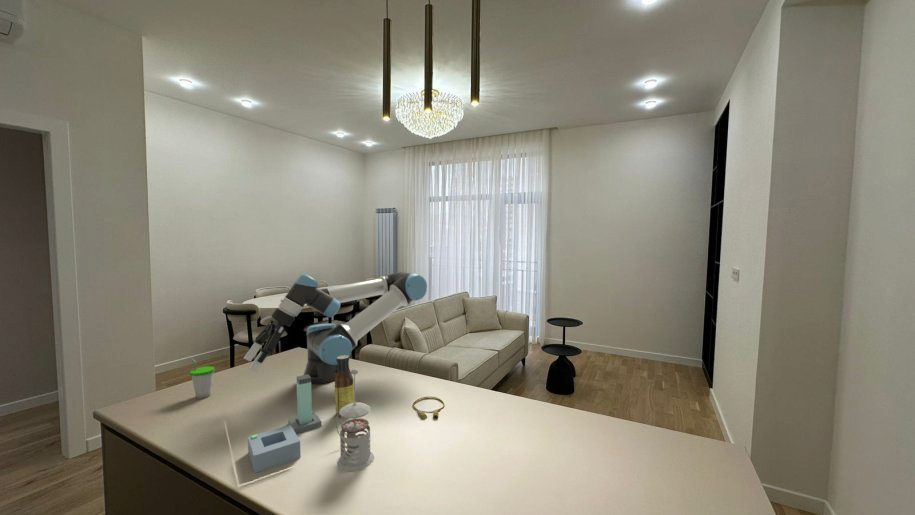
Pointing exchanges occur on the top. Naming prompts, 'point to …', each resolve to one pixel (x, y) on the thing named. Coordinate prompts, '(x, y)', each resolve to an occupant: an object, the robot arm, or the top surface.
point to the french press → (354, 436)
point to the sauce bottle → (343, 384)
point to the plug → (304, 399)
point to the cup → (202, 380)
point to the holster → (304, 427)
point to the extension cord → (423, 415)
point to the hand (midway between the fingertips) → (249, 365)
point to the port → (273, 448)
